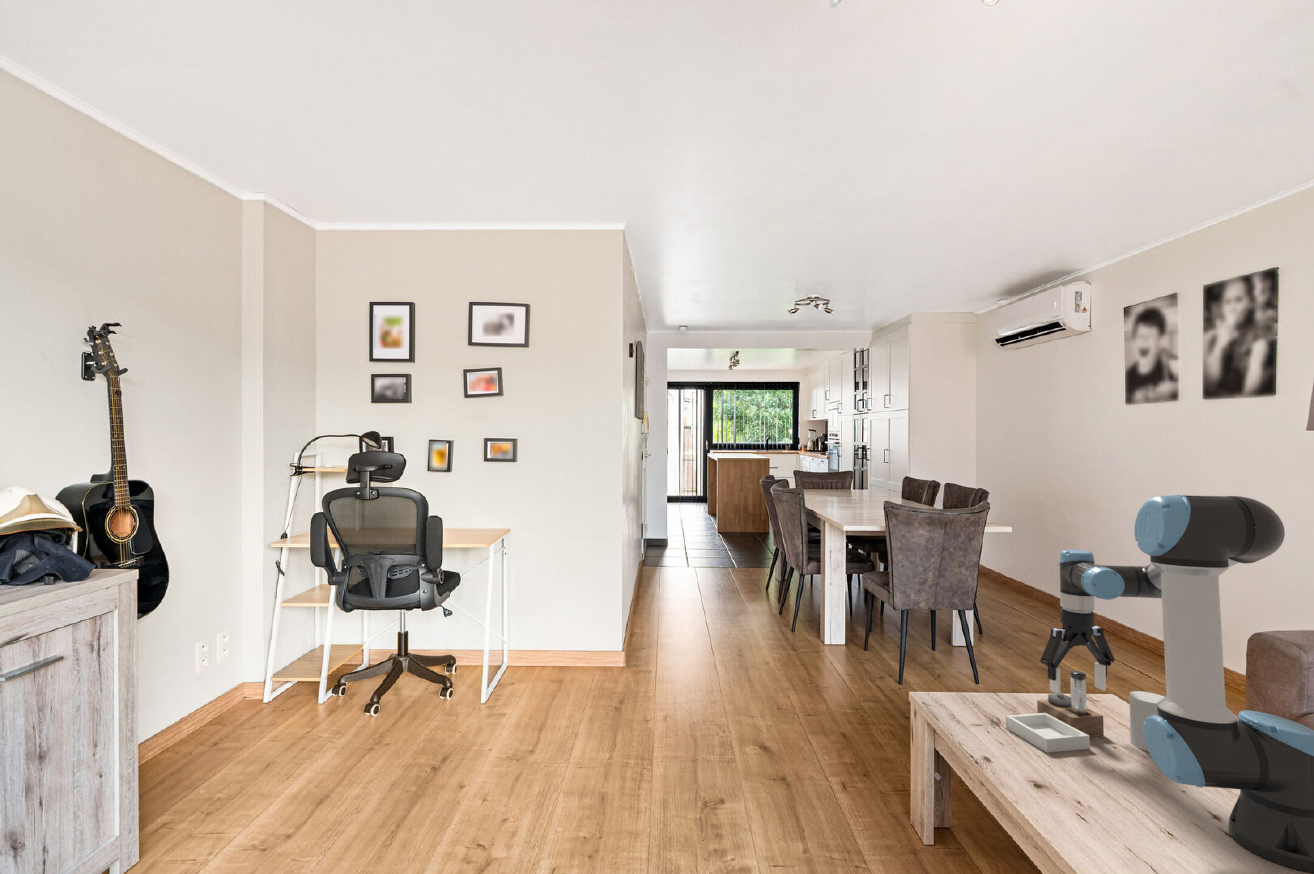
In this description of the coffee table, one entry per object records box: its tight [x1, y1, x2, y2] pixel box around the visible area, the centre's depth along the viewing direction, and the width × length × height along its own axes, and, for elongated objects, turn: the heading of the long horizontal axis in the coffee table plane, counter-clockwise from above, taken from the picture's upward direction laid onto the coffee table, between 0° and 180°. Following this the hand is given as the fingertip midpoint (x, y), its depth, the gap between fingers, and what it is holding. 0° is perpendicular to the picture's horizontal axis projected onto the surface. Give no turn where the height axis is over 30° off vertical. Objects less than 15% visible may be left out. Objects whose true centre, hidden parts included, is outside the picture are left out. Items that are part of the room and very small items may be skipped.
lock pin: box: [1069, 670, 1087, 716], centre depth 166 cm, size 3×3×15 cm
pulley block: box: [1036, 692, 1105, 737], centre depth 168 cm, size 12×9×8 cm
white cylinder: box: [1128, 690, 1166, 752], centre depth 157 cm, size 8×8×12 cm
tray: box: [1005, 713, 1091, 753], centre depth 161 cm, size 14×12×3 cm
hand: (1077, 690), depth 166 cm, fingers open, 13 cm apart
